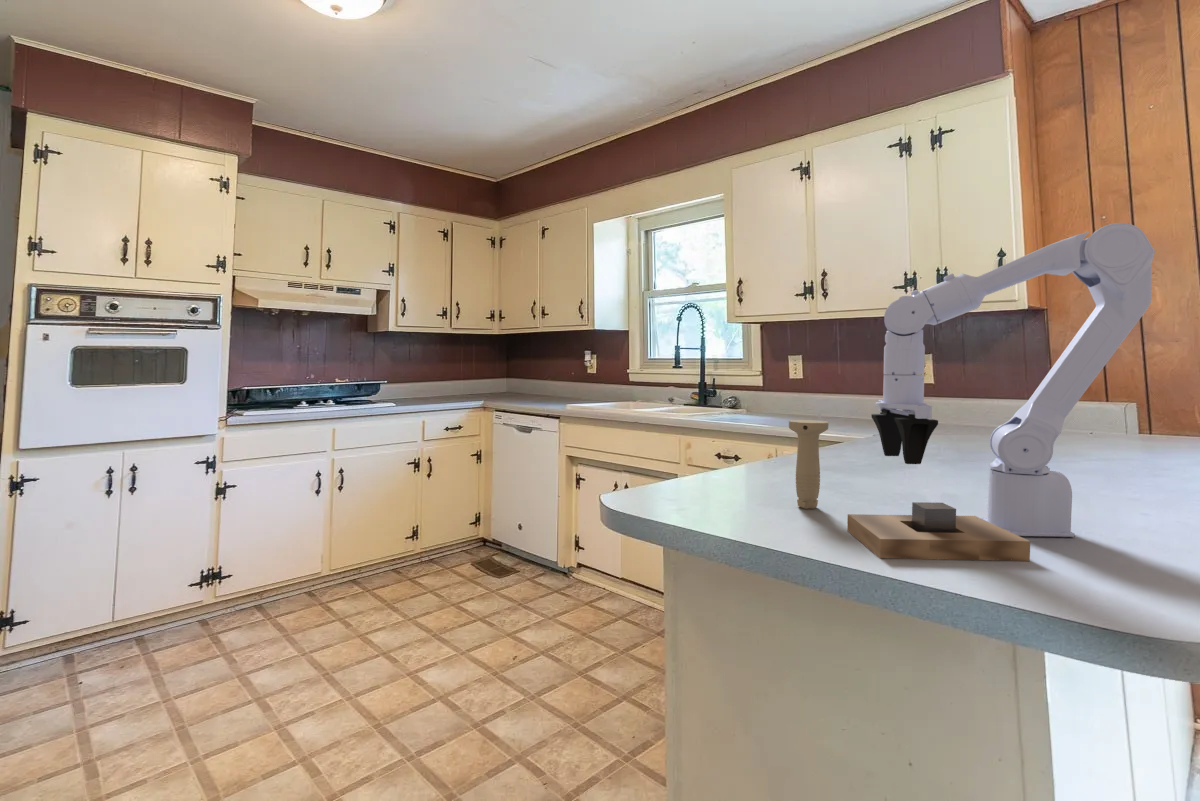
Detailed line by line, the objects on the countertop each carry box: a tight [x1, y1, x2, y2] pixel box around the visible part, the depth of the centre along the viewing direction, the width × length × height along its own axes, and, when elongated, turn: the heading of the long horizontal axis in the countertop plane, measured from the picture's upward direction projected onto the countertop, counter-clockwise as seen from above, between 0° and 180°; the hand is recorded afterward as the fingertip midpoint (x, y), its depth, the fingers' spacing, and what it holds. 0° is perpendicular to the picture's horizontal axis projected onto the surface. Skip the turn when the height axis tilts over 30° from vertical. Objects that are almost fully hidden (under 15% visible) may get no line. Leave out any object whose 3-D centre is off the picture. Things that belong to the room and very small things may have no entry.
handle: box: [788, 419, 829, 510], centre depth 98 cm, size 5×6×15 cm
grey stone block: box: [911, 501, 957, 533], centre depth 77 cm, size 4×4×6 cm
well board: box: [846, 513, 1031, 562], centre depth 77 cm, size 18×12×2 cm, turn 85°
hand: (901, 459), depth 90 cm, fingers open, 7 cm apart
